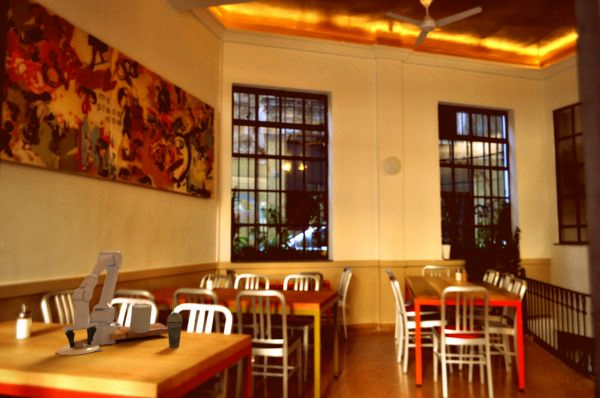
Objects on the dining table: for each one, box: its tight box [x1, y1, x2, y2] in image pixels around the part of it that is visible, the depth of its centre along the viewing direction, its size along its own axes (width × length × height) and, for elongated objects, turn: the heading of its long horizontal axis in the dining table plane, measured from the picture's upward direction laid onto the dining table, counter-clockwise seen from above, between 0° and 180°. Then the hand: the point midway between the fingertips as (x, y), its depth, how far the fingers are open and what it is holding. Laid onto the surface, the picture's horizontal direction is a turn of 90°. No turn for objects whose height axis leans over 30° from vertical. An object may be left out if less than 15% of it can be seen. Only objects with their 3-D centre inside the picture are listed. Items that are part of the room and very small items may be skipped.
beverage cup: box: [166, 302, 183, 349], centre depth 211 cm, size 7×7×20 cm
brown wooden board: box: [110, 322, 168, 341], centre depth 229 cm, size 13×30×3 cm, turn 131°
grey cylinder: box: [129, 303, 153, 333], centre depth 228 cm, size 10×10×12 cm
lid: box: [56, 339, 100, 356], centre depth 201 cm, size 17×17×4 cm
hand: (80, 346), depth 202 cm, fingers open, 7 cm apart
